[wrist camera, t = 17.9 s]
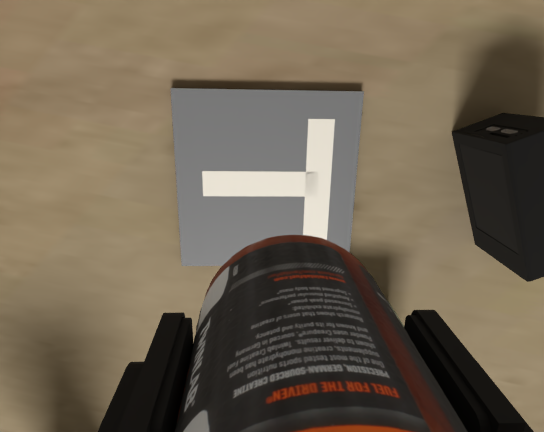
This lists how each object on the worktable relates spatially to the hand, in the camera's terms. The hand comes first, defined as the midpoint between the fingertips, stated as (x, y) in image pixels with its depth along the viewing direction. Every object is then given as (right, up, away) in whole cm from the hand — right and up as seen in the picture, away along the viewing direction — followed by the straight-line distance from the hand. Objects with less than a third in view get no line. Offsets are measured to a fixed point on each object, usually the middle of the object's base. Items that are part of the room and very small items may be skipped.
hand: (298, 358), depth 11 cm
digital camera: (+18, +7, +21) cm, 28 cm away
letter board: (-1, +7, +20) cm, 21 cm away
